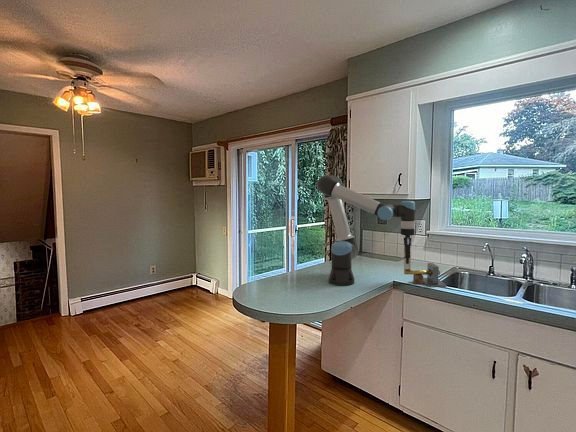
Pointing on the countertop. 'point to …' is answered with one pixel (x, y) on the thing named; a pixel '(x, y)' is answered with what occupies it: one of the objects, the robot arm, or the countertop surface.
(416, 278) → the rest block
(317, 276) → the countertop surface
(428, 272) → the hook rod
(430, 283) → the grey upright block
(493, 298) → the countertop surface
